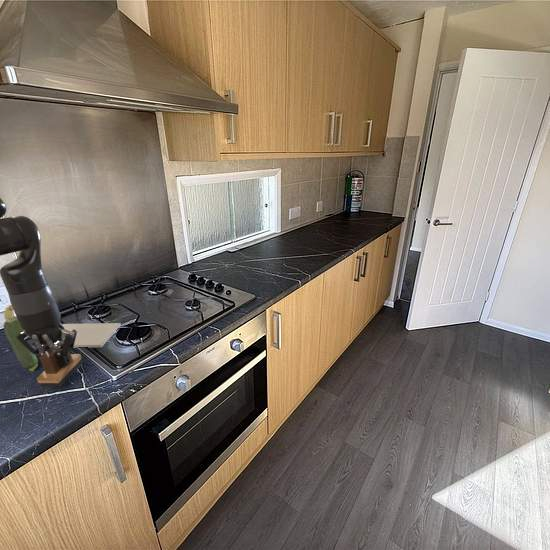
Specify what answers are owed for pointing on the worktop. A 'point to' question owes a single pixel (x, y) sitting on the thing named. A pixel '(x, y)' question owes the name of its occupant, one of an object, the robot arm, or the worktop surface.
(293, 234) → the worktop surface
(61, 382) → the brush
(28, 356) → the vegetable
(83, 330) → the tile
